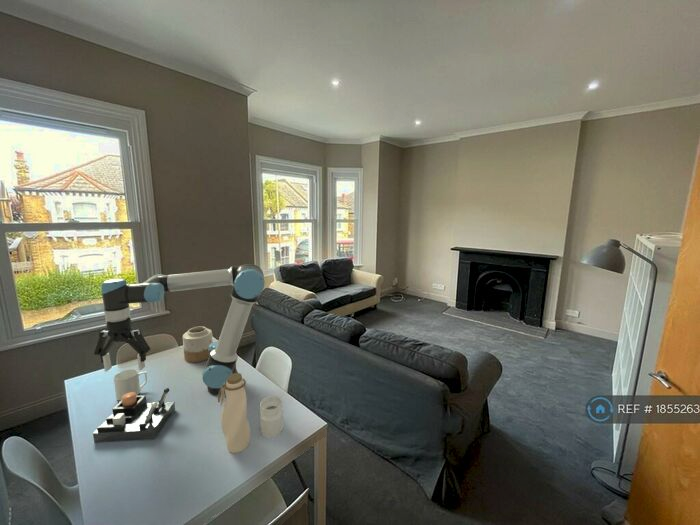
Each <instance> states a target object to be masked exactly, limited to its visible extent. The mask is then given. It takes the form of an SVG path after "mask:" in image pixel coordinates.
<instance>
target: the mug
mask: <svg viewBox="0 0 700 525" xmlns="http://www.w3.org/2000/svg"><path fill="white" fill-rule="evenodd" d="M142 374H144V377H145V380H144V382H143V383H142V384H141V385H140V377H139V376H140V375H142ZM147 376H148V374H147V370H145V371H140V372H139V369H135V368H130V369H129V368H128V369H125V370H121V371H120V372H117V373H116V374H114V376H113V384H114V391H115V398H116V399H117V400H118V401H119V402H120V401H121V400H122V396H123V395H125V394H127V393H130V392H135V393H136V396H139V394H140V392H141V389H142V388H143V387H144V386H145V385H146V384H147V383H148V378H147Z"/></svg>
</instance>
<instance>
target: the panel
mask: <svg viewBox="0 0 700 525" xmlns="http://www.w3.org/2000/svg"><path fill="white" fill-rule="evenodd" d="M157 401H158V402H157V404H159V402H160V399H159V400H157ZM152 403H153V402H147V395H146V394H144V395H143V394H142V395H137V403H136V404H135V405H134V406H131V407H123V406H122V400H121V401H120V400H119V401H118V403H117V404H116V405H115V406H114V407H113V408H112V414H110V416H108V417H106V419H105V421H104V422H103V423H101V425H99V426H97V427H96V430H94V431H93V433H92V435H93V442H94V444H95V443H110V442H111V443H112V442H113V443H116V442H126V441H145V440H147V441H148V440H155V439H156V438H157V436H158V435H159V434H160V432H161V431H162V429H163V428H164V426H165V425H166V424H167V423H168V421H169V420H170V418H171V417H172V415H173V414H174V412H175V411H176V405H175V401H170V402H169V401H168V402H165V401H164V403H163V404H162V405H161V407H160V408H159V407H156V408H155V410H154V413H153V415H152V417H151V419H150V420H149V422H148V423H147V424H146V423H144V422H145V420H146V417H147V415H148V413H149V411H150V408H151V405H152ZM157 406H158V405H157ZM118 413H124V414H125V423H124V425H113V418H114V417H115V416H116V415H117V414H118Z"/></svg>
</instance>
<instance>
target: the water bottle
mask: <svg viewBox="0 0 700 525" xmlns="http://www.w3.org/2000/svg"><path fill="white" fill-rule="evenodd" d="M242 375H243V374H241V373H240V372H238V373H233V374H230V375H229V376H228V377H227V382H226V383H225V382H224V383H223V385H222V387H221V389H220V391H219V394H218V395H217V402H218V403H220V407H222V406H223V407H222V409H221V415H220V416H221V417H220V425H221V429H222V433H223V435H224V438H225V443H226V449H227V451H228V452H229V453H233V454H236V453H241V452H243V451H244V450H245V449H247V447H248V446H249V444H250V437H251V428H250V424H249V421H248V418H247V393H246V392H247V391H246V389H245V385H246V384H247V381H246V379H245V378H244V377H242ZM224 388H225V394H224ZM220 393H221V395H220ZM225 397H226V398H225ZM224 401H225V402H224Z"/></svg>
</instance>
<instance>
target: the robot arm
mask: <svg viewBox="0 0 700 525" xmlns="http://www.w3.org/2000/svg"><path fill="white" fill-rule="evenodd" d="M265 283H266V282H265V277H264V272H263V270H262V268H261V267H260V266H259V265H256V264H253V263H248V264H241V265H233V266H232V265H231V266H230V267H229V268H223V269H214V270H205V271H194V272H186V273H185V272H184V273H175V274H168V275H167V274H166V275H165V274H162V273H159V274H154V275H153V276H151V277H149V278H148V279H146V280H145V281H144V282H142V283H132V284H131V283H128V282H127V280H126V279H124V278H112V279H107V280H104V281H103V282H101V285H100V287H101V296H102V302H103V309H104V318H105V325H106V329H107V330H106V329H104V330H102V331H100V332H98V336H99V338H98V340H97V343H96V347H95V350H94V353H93V354H94V355H96V356H99V357H100V360H101V363H102V364H103V367H104V368H103V369H104V372H108V371H110V369H112V367H113V366H112V362H111V354H110V352H109V351H110V349H111V347H112V346H113V345H114V344H115V343H118V342H121V343H122V342H123V343H124V342H125V343H126V344H128V345H129V346H130V347H131V348H132V349H133V350H134V351H135V352H136V353H137V355H136V356H137V365H138V371H143V369H144V368H146V364H145V361H146V360H147V353H149V351H151V347H150V345H149V343H148V342H147V340H145V339H146V338H145V337H144V336H143V334H142V330H141V329H140V328H138V329H136V330H134V329H133V328H132V317H130V316H131V312H130V311H131V309H130V304H143V303H144V304H145V303H157V302H162V301H163V299H164V297H165V293H171V292H180V291H188V290H189V291H190V290H196V289H206V288H214V287H222V286H232V289H231V292H230V297H231V298H232V299H231V303H230V306H229V309H228V311H227V315H226V318H225V320H224V323H223V326H222V329H221V332H220V335H219V338H218V340H216V341H214V342H213V343H212V344H210V345H209V349H208V350H209V358H208V359H207V362H206V364H205V367H204V370H203V372H202V378H201V379H202V381H203V383H204V384H205V386H207V387H206V388H207V392H208V393H209V394H211V395H214V396H218V394H219V391H220V389H221V387H222V385H223V383H224V382H225V383H226V382H227V377H228V376H229V375H230V374H233V373H239V372H238V370H237V360H238V358H239V357H238V354H237V350H238V347H239V344H240V341H241V339H242V336H243V333H244V330H245V328H246V325H247V322H248V319H249V316H250V314H251V311H252V307H253V305H255V304H256V303H258V301H259V298H260V295H261V293H262V292H263V291H264V288H265ZM108 336H109V338H108V341H107V343H106V340H107V337H108ZM105 343H106V344H105ZM224 395H225V388H224ZM220 396H221V393H220Z"/></svg>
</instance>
